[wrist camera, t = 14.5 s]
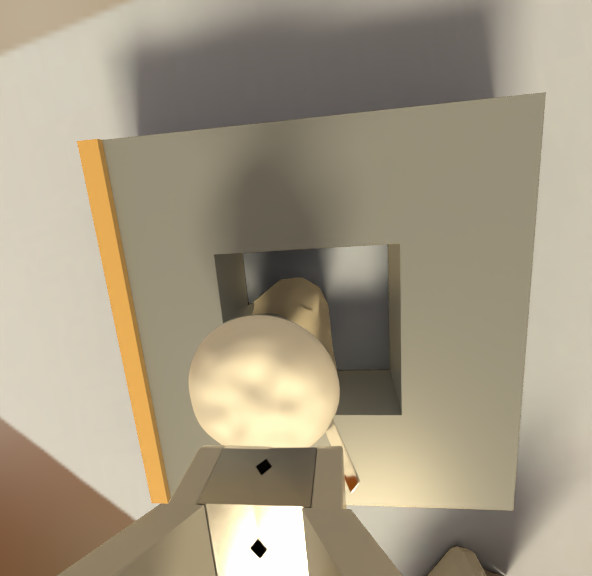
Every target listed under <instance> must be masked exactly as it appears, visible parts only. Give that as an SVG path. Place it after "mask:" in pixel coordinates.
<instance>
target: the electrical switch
mask: <svg viewBox="0 0 592 576" xmlns="http://www.w3.org/2000/svg"><path fill="white" fill-rule="evenodd" d="M427 576H504V575H499V574H495V573H491V572H488V571H487V570H485V569H483V568H482V566H481V564H480V562H479V560H478V558H477V557H476V555H475V553H474V552H472V551H471V550H469V549H467V548H462V547H457V546H456V547H453V548H450V549H449V551H448V552H447V553H446V554H445V555H444V557H443V558H442V559H441V560H440V561H439V562H438V564H437V565H436V566H435V567H434V568H433V570H432V571H431V572H430V573H429V574H428V575H427Z"/></svg>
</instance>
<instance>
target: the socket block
mask: <svg viewBox="0 0 592 576" xmlns="http://www.w3.org/2000/svg"><path fill="white" fill-rule="evenodd" d="M545 96H546V92H545V93H535V94H526V95H517V96H507V97H498V98H489V99H480V100H470V101H461V102H452V103H442V104H433V105H424V106H414V107H405V108H396V109H387V110H377V111H368V112H359V113H349V114H340V115H331V116H322V117H312V118H303V119H294V120H284V121H275V122H266V123H257V124H247V125H238V126H229V127H219V128H210V129H201V130H192V131H182V132H173V133H164V134H154V135H145V136H136V137H127V138H117V139H108V140H99V139H93V140H84V141H77V144H78V148H79V153H80V158H81V163H82V168H83V173H84V177H85V182H86V187H87V192H88V197H89V202H90V206H91V211H92V216H93V221H94V226H95V231H96V235H97V240H98V245H99V250H100V255H101V260H102V265H103V269H104V274H105V279H106V284H107V289H108V294H109V298H110V303H111V308H112V313H113V318H114V323H115V327H116V332H117V337H118V342H119V347H120V352H121V356H122V361H123V366H124V371H125V376H126V381H127V386H128V390H129V395H130V400H131V405H132V410H133V415H134V419H135V424H136V429H137V434H138V439H139V444H140V448H141V453H142V458H143V463H144V468H145V473H146V477H147V482H148V487H149V492H150V497H151V502H152V503H164V504H168V502H169V501H170V499H171V498H172V496H173V494H174V493H175V491H176V489H177V487H178V485H179V484H180V482H181V480H182V478H183V477H184V475H185V473H186V471H187V469H188V468H189V466H190V464H191V462H192V461H193V459H194V457H195V455H196V453H197V452H198V450H199V448H200V447H202V446H204V445H221V444H220V443H219V442H217V441H216V440H214V439H213V438H212V437H211V436H209V435H208V434H207V433H206V432H205V430H204V429H203V428H202V427H201V425H200V424H199V422H198V420H197V418H196V416H195V413H194V410H193V407H192V403H191V398H190V393H189V382H188V380H189V371H190V366H191V363H192V360H193V357H194V355H195V353H196V351H197V349H198V347H199V345H200V344H201V343H202V341H203V340H204V339H205V338H206V336H207V335H209V334H210V333H211V332H212V331H213V330H215V329H216V328H218V327H219V326H220V325H222V324H223V323H225V322H226V321H227V320H229V319H230V318H232V317H233V316H234V315H236V314H237V313H239V312H240V311H241V310H243V309H244V308H246V307H247V306H248V298H247V289H246V280H245V271H244V262H243V253H248V252H265V251H282V250H299V249H316V248H333V247H350V246H366V245H383V244H388V280H389V337H390V370H341V371H337V374H338V379H339V386H340V397H339V404H338V408H337V411H336V414H335V416H334V419H333V421H334V423H335V425H336V427H337V430H338V432H339V434H340V436H341V439H342V441H343V443H344V445H345V447H346V450H347V452H348V454H349V456H350V459H351V461H352V463H353V465H354V467H355V470H356V472H357V474H358V477H359V479H360V483H359V484H358V486H357V487H356V489H355V490H354V491H353V493H351V492H350V491H349V489H348V486H347V484H346V481H345V493H346V505H368V506H396V507H425V508H453V509H481V510H510V511H513V508H514V495H515V482H516V469H517V456H518V444H519V431H520V418H521V405H522V392H523V379H524V366H525V353H526V341H527V328H528V315H529V302H530V289H531V276H532V263H533V250H534V238H535V225H536V212H537V199H538V186H539V173H540V160H541V148H542V135H543V122H544V109H545ZM318 446H331V445H330V442H329V440H328V437H327V435H326V433H324V434H323V435H322V436H321V437H320V439H319V440H318V441H316V442H315V443H314V444H313V445H312V446H310V447H318Z"/></svg>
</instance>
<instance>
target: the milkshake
mask: <svg viewBox="0 0 592 576" xmlns="http://www.w3.org/2000/svg"><path fill="white" fill-rule="evenodd" d="M188 382H189V393H190V398H191V403H192V407H193V410H194V413H195V416H196V418H197V420H198V422H199V424H200V425H201V427H202V428H203V429H204V430H205V432H206V433H207V434H208V435H209V436H211V437H212V438H213V439H214V440H216V441H217V442H219V443H220V444H221V445H225V446H227V445H237V446H268V447H310V446H312V445H313V444H314V443H315V442H316V441H318V440H319V439H320V437H321V436H322V435H323V434H324V433H326V435H327V437H328V440H329V442H330V445H331V446H342V448H343V456H344V474H345V481H346V484H347V486H348V489H349V491H350V492H351V493H353V491H354V490H355V489H356V487H357V486H358V484H359V483H360V479H359V477H358V474H357V472H356V470H355V467H354V465H353V463H352V461H351V459H350V456H349V454H348V452H347V450H346V447H345V445H344V443H343V441H342V439H341V436H340V434H339V432H338V430H337V427H336V425H335V423H334V421H333V419H334V416H335V414H336V411H337V408H338V404H339V397H340V386H339V379H338V374H337V369H336V363H335V357H334V352H333V345H332V335H331V325H330V316H329V307H328V304H327V302H326V300H325V298H324V296H323V294H322V292H321V290H320V287H319V286H317V285H315V284H313V283H311V282H309V281H307V280H305V279H304V278H302V277H297V278H289V279H281V280H279V281H278V282H277V283H276V284H274V285H273V286H272V287H271V288H270V289H269V290H267V291H266V292H265V293H264V294H263V295H261V296H260V297H259V298H258V299H257V300H255V301H254V302H253V303H251V304H250V305H249V306H247V307H246V308H244V309H243V310H241V311H240V312H239V313H237V314H236V315H234V316H233V317H232V318H230V319H229V320H227V321H226V322H225V323H223V324H222V325H220V326H219V327H218V328H216V329H215V330H213V331H212V332H211V333H210V334H209V335H207V336H206V338H205V339H204V340H203V341H202V343H201V344H200V345H199V347H198V349H197V351H196V353H195V355H194V357H193V360H192V363H191V366H190V371H189V380H188Z"/></svg>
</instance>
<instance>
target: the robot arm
mask: <svg viewBox="0 0 592 576" xmlns="http://www.w3.org/2000/svg"><path fill="white" fill-rule="evenodd" d="M57 576H403V575H402V574H401V573H400V572H399V570H398V569H397V568H396V566H395V565H394V564H393V563H392V561H391V560H390V559H389V558H388V556H387V555H386V554H385V552H384V551H383V550H382V549H381V547H380V546H379V545H378V543H377V542H376V541H375V540H374V538H373V537H372V536H371V535H370V533H369V532H368V531H367V529H366V528H365V527H364V526H363V524H362V523H361V522H360V520H359V519H358V518H357V517H356V515H355V514H354V513H353V512H352V510H350V509H346V493H345V474H344V456H343V448H342V446H318V447H268V446H237V445H227V446H225V445H204V446H202V447H200V448H199V450H198V452H197V453H196V455H195V457H194V459H193V461H192V462H191V464H190V466H189V468H188V469H187V471H186V473H185V475H184V477H183V478H182V480H181V482H180V484H179V485H178V487H177V489H176V491H175V493H174V494H173V496H172V498H171V500H170V501H169V503H168V504H160V505H158V506H157V507H155V508H154V509H153V510H151V511H150V512H148V513H147V514H145V515H144V516H142V517H141V518H140V519H138V520H137V521H135V522H134V523H132V524H131V525H129V526H128V527H127V528H125V529H124V530H122V531H121V532H119V533H118V534H117V535H115V536H114V537H112V538H111V539H109V540H108V541H106V542H105V543H104V544H102V545H101V546H99V547H98V548H96V549H95V550H94V551H92V552H91V553H89V554H88V555H86V556H85V557H83V558H82V559H81V560H79V561H78V562H76V563H75V564H73V565H72V566H70V567H69V568H68V569H66V570H65V571H63V572H62V573H60V574H59V575H57Z"/></svg>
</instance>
